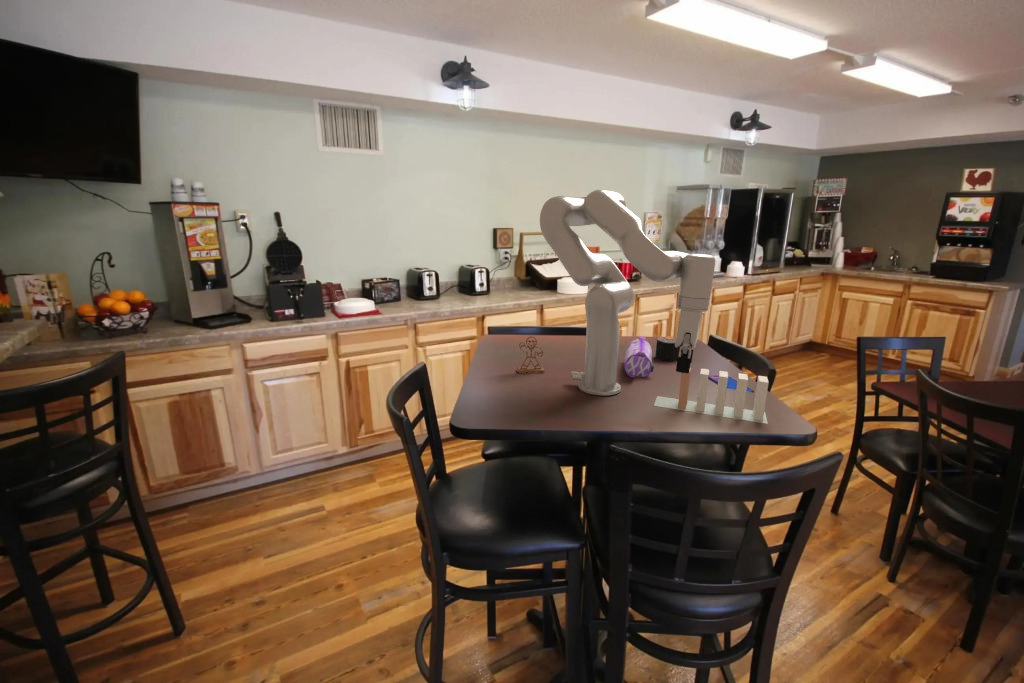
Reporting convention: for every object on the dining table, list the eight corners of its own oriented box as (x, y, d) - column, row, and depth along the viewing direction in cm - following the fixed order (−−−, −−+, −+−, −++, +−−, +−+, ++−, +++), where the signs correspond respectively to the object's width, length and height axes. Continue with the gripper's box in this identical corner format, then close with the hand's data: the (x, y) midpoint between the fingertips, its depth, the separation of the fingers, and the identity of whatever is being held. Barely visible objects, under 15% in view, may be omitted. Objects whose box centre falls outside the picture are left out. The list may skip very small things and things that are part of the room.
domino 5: (753, 419, 116) (759, 381, 114) (752, 412, 120) (758, 375, 118) (762, 420, 115) (768, 382, 113) (761, 413, 120) (766, 376, 117)
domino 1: (677, 407, 123) (681, 371, 121) (679, 401, 127) (683, 366, 125) (685, 408, 122) (689, 372, 120) (687, 402, 127) (691, 367, 124)
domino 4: (733, 416, 118) (739, 378, 115) (733, 409, 122) (738, 373, 120) (742, 417, 117) (748, 379, 115) (741, 410, 121) (747, 374, 119)
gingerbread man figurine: (543, 369, 158) (544, 335, 155) (544, 373, 154) (545, 338, 151) (517, 369, 157) (517, 335, 154) (518, 373, 154) (518, 338, 151)
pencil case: (652, 381, 148) (655, 353, 145) (623, 379, 150) (625, 350, 148) (650, 362, 169) (652, 337, 166) (623, 360, 171) (625, 335, 168)
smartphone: (732, 392, 138) (706, 375, 152) (732, 395, 138) (706, 378, 152) (755, 391, 138) (727, 375, 153) (755, 394, 139) (727, 377, 153)
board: (653, 409, 124) (653, 405, 124) (657, 400, 131) (657, 396, 131) (767, 428, 114) (767, 423, 114) (764, 416, 121) (765, 412, 121)
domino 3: (714, 413, 120) (719, 376, 117) (714, 406, 124) (719, 370, 122) (723, 414, 119) (728, 377, 116) (723, 407, 123) (727, 371, 121)
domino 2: (695, 410, 121) (700, 373, 119) (696, 403, 126) (701, 368, 123) (704, 411, 121) (708, 374, 118) (704, 405, 125) (709, 369, 123)
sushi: (651, 356, 176) (653, 336, 174) (668, 354, 179) (670, 334, 177) (666, 362, 169) (668, 340, 167) (683, 359, 172) (686, 338, 170)
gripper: (680, 297, 127) (672, 356, 132) (674, 307, 112) (665, 374, 117) (709, 300, 125) (700, 360, 129) (707, 310, 109) (697, 379, 114)
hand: (683, 367), depth 123 cm, fingers open, 9 cm apart
